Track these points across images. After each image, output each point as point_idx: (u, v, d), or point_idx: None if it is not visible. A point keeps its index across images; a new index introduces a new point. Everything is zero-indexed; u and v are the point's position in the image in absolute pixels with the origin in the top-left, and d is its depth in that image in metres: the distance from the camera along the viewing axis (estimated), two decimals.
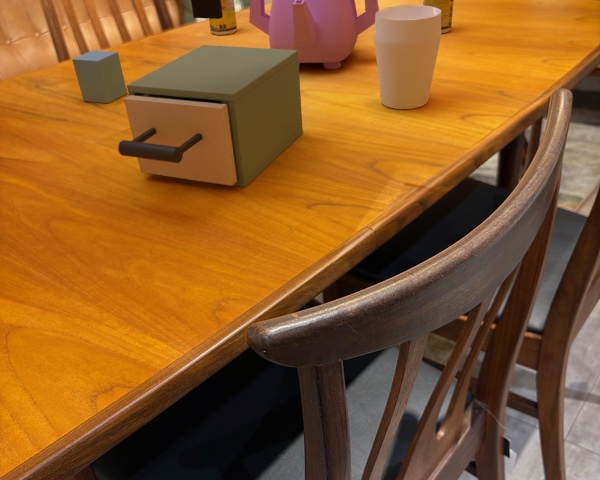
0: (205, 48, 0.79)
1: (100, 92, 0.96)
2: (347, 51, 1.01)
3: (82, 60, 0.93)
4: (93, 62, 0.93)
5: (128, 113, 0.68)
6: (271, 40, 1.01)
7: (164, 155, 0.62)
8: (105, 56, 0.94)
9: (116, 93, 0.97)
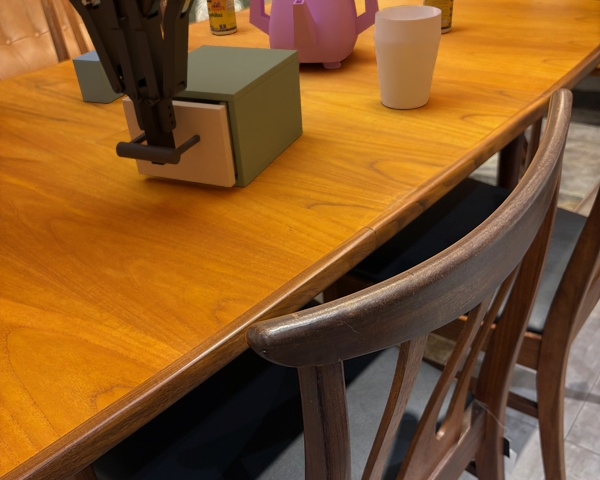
0: (205, 48, 0.79)
1: (100, 92, 0.96)
2: (347, 51, 1.01)
3: (82, 60, 0.93)
4: (93, 62, 0.93)
5: (126, 114, 0.68)
6: (271, 40, 1.01)
7: (162, 157, 0.62)
8: None
9: (116, 93, 0.97)
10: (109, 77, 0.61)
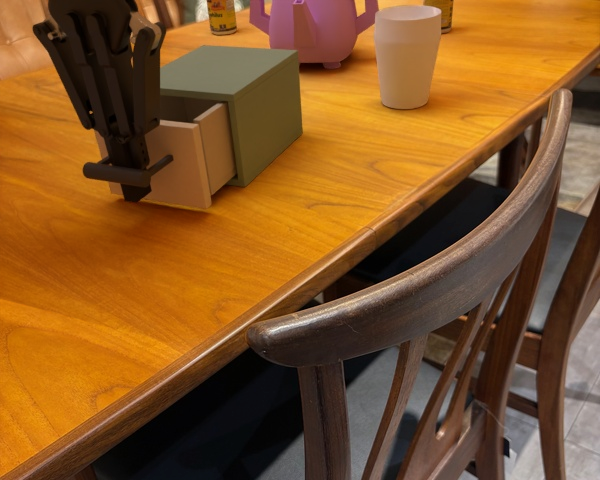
0: (205, 48, 0.79)
1: None
2: (347, 51, 1.01)
3: None
4: None
5: (95, 132, 0.64)
6: (271, 40, 1.01)
7: (131, 179, 0.58)
8: None
9: None
10: (79, 113, 0.58)
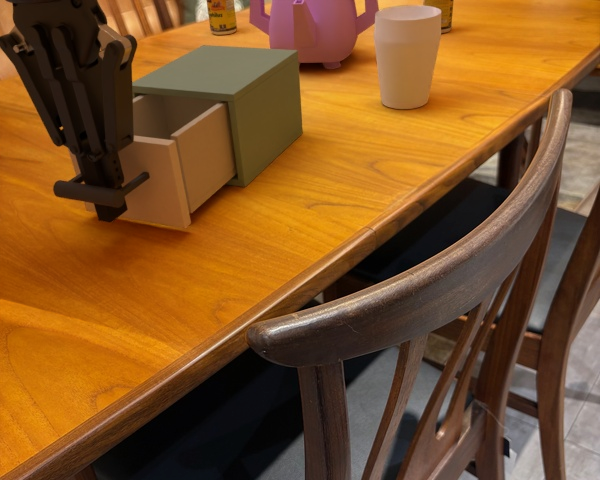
0: (205, 48, 0.79)
1: None
2: (347, 51, 1.01)
3: None
4: None
5: None
6: (271, 40, 1.01)
7: (103, 199, 0.55)
8: None
9: None
10: (48, 129, 0.55)
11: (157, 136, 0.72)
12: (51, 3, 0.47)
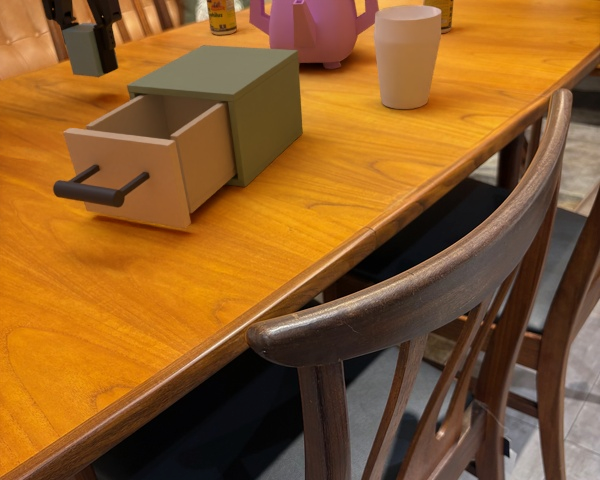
0: (205, 48, 0.79)
1: (91, 66, 0.93)
2: (347, 51, 1.01)
3: (72, 31, 0.91)
4: (84, 33, 0.90)
5: (69, 148, 0.61)
6: (271, 40, 1.01)
7: (103, 199, 0.55)
8: None
9: None
10: (45, 7, 0.92)
11: (157, 136, 0.72)
12: None
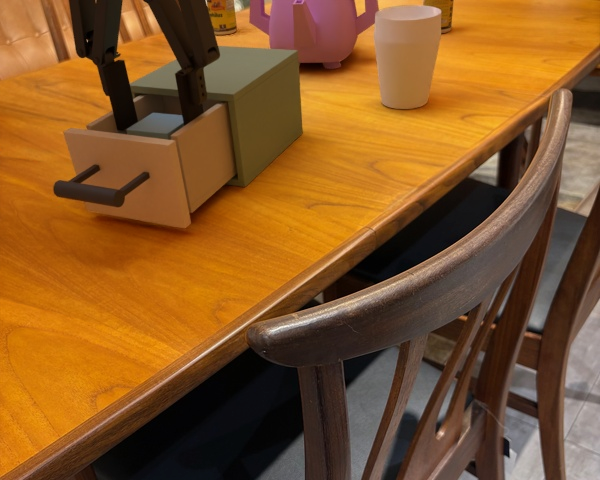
0: None
1: None
2: (347, 51, 1.01)
3: (143, 131, 0.62)
4: (160, 135, 0.62)
5: (69, 147, 0.61)
6: (271, 40, 1.01)
7: (103, 199, 0.55)
8: (176, 124, 0.63)
9: None
10: (76, 40, 0.61)
11: None
12: None
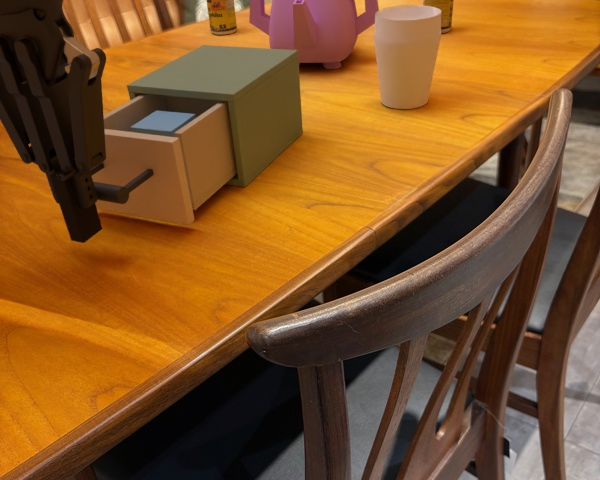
0: (205, 48, 0.79)
1: None
2: (347, 51, 1.01)
3: (146, 129, 0.63)
4: (164, 132, 0.62)
5: None
6: (271, 40, 1.01)
7: (108, 196, 0.55)
8: (180, 122, 0.64)
9: None
10: (16, 145, 0.52)
11: None
12: (14, 15, 0.45)
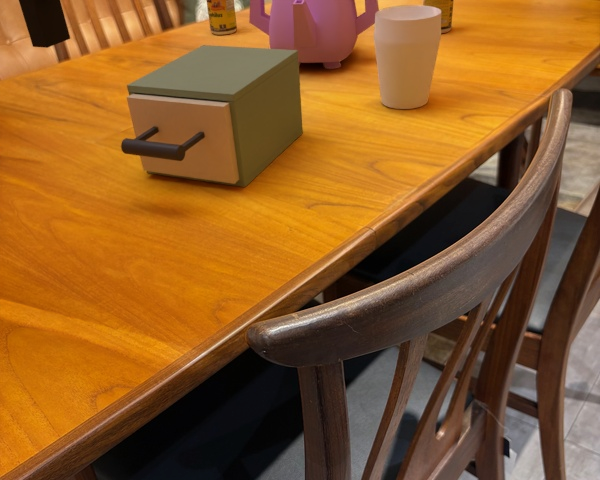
0: (205, 48, 0.79)
1: None
2: (347, 51, 1.01)
3: (195, 98, 0.70)
4: (212, 100, 0.69)
5: (131, 111, 0.68)
6: (271, 40, 1.01)
7: (167, 153, 0.62)
8: None
9: None
10: None
11: None
12: None
